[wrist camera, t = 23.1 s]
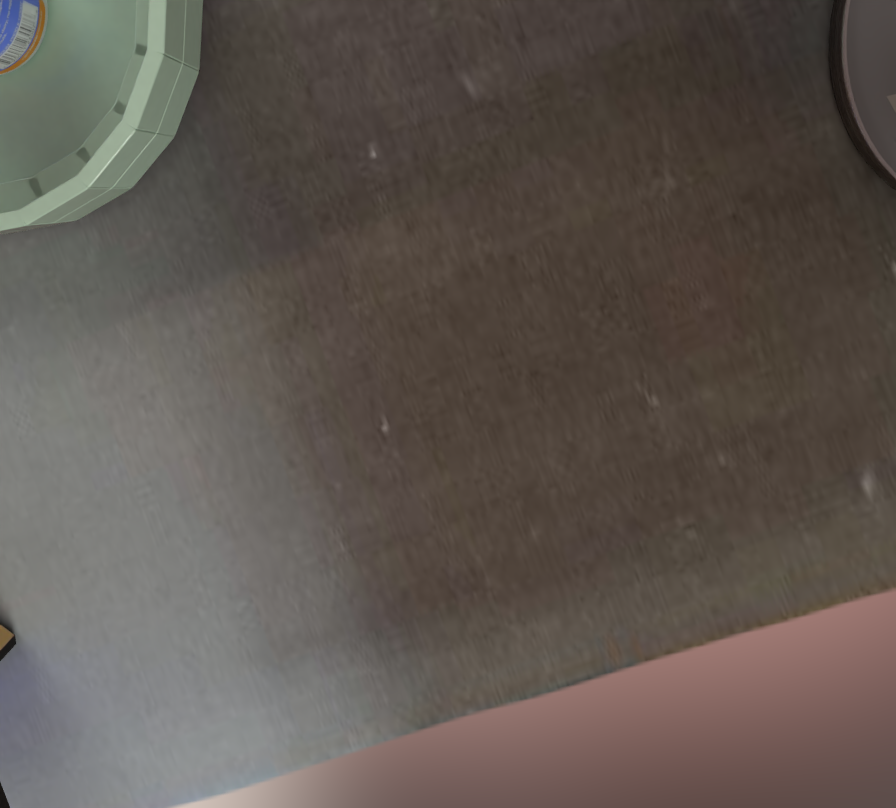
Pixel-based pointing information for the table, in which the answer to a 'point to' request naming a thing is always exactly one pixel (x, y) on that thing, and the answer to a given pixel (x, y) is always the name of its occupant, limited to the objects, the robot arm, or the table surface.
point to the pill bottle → (20, 31)
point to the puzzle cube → (6, 641)
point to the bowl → (93, 106)
